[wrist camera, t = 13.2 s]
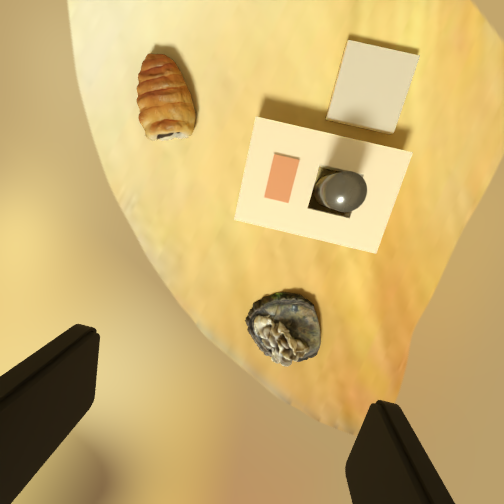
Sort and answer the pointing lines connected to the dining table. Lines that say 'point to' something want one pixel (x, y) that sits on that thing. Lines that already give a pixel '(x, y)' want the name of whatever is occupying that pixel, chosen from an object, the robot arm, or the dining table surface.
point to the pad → (371, 87)
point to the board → (303, 178)
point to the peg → (341, 191)
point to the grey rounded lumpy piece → (285, 327)
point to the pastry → (164, 100)
